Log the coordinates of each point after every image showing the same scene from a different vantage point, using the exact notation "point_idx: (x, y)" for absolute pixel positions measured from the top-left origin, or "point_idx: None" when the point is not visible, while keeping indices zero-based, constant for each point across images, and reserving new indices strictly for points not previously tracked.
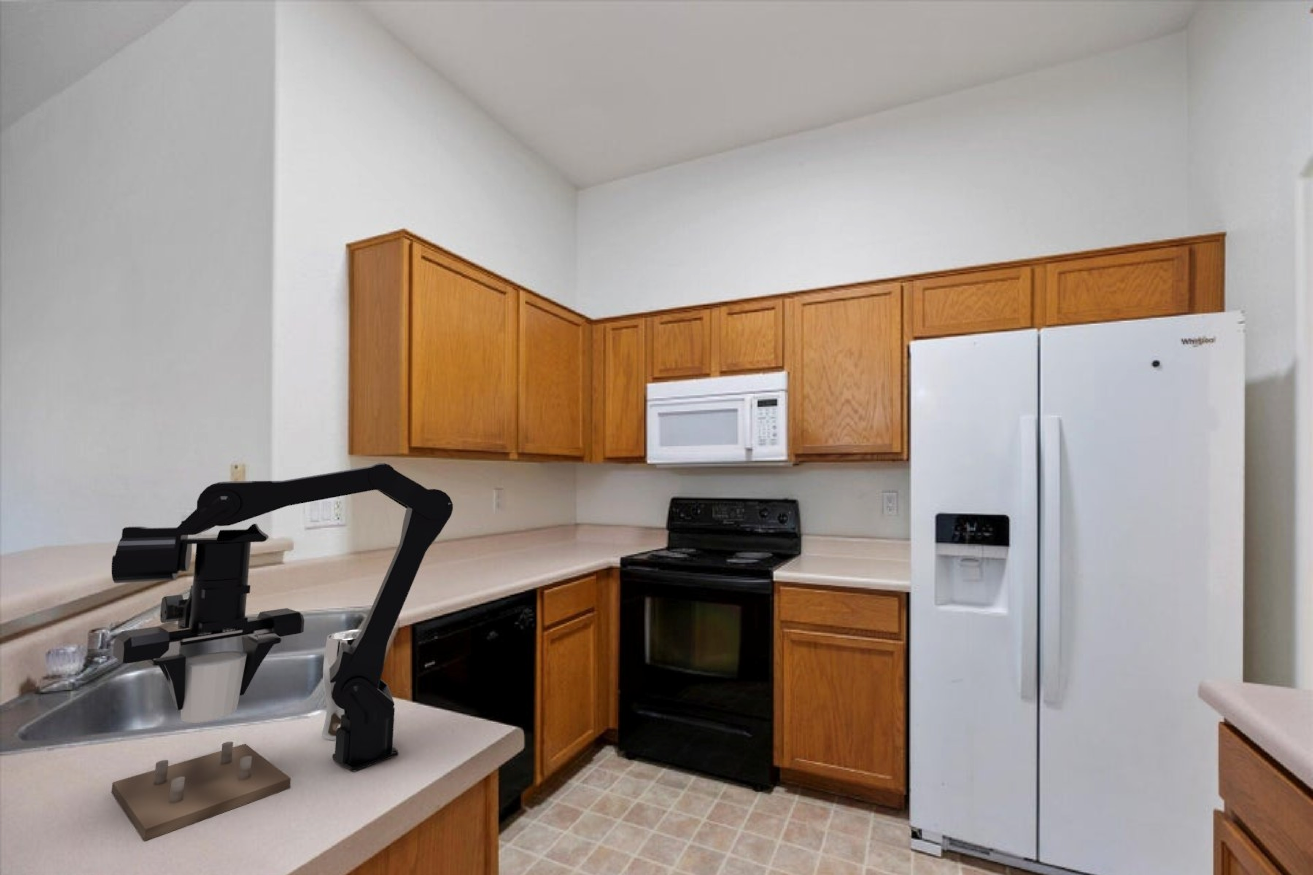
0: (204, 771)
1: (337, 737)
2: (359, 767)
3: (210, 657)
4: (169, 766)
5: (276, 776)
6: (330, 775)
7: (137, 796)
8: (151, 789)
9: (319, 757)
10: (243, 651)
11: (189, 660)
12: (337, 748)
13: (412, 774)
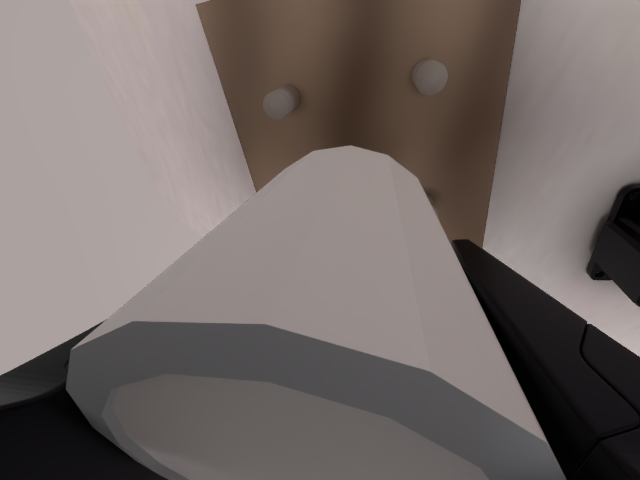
0: (371, 100)
1: (637, 261)
2: (601, 278)
3: (263, 442)
4: None
5: (466, 238)
6: (551, 254)
7: (257, 143)
8: (276, 126)
9: (614, 153)
10: (610, 475)
11: (122, 409)
12: (617, 249)
13: (630, 339)
